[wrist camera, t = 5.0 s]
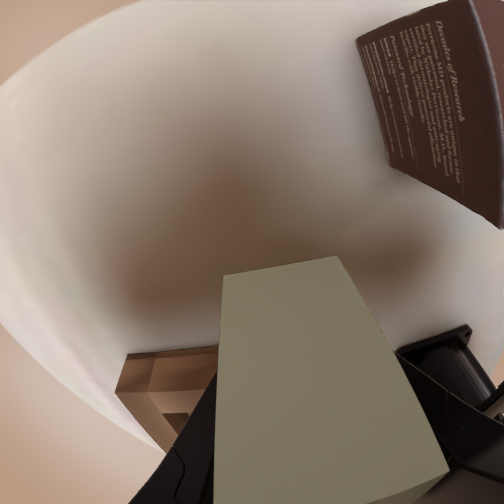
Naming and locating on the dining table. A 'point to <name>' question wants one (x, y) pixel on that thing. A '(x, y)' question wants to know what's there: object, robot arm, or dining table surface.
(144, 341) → the dining table surface
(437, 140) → the box
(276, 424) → the peg
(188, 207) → the dining table surface
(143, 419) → the socket block
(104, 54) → the dining table surface
